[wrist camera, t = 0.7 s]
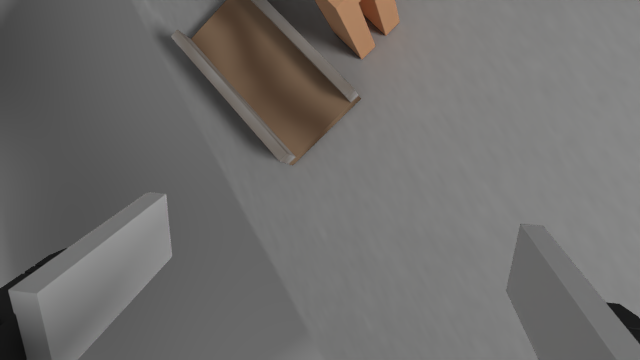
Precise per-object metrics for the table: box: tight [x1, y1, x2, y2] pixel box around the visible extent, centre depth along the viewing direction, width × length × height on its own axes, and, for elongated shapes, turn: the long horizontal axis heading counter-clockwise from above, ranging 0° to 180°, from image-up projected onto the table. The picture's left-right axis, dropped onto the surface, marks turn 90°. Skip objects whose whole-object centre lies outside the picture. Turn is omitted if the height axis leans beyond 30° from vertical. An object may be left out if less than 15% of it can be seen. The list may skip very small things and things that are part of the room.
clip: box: [315, 0, 399, 59], centre depth 37 cm, size 5×4×11 cm
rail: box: [171, 0, 361, 165], centre depth 43 cm, size 10×18×4 cm, turn 43°
